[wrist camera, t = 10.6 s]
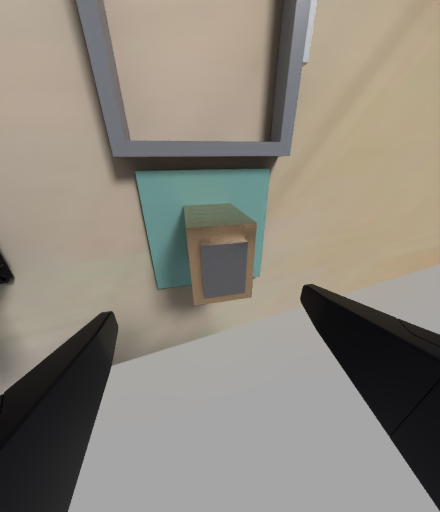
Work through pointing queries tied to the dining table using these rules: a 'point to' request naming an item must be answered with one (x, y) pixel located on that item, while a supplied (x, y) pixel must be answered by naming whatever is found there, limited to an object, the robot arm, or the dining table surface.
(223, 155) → the grey tapered frame
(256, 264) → the service mat
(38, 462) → the robot arm
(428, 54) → the dining table surface
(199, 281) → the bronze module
